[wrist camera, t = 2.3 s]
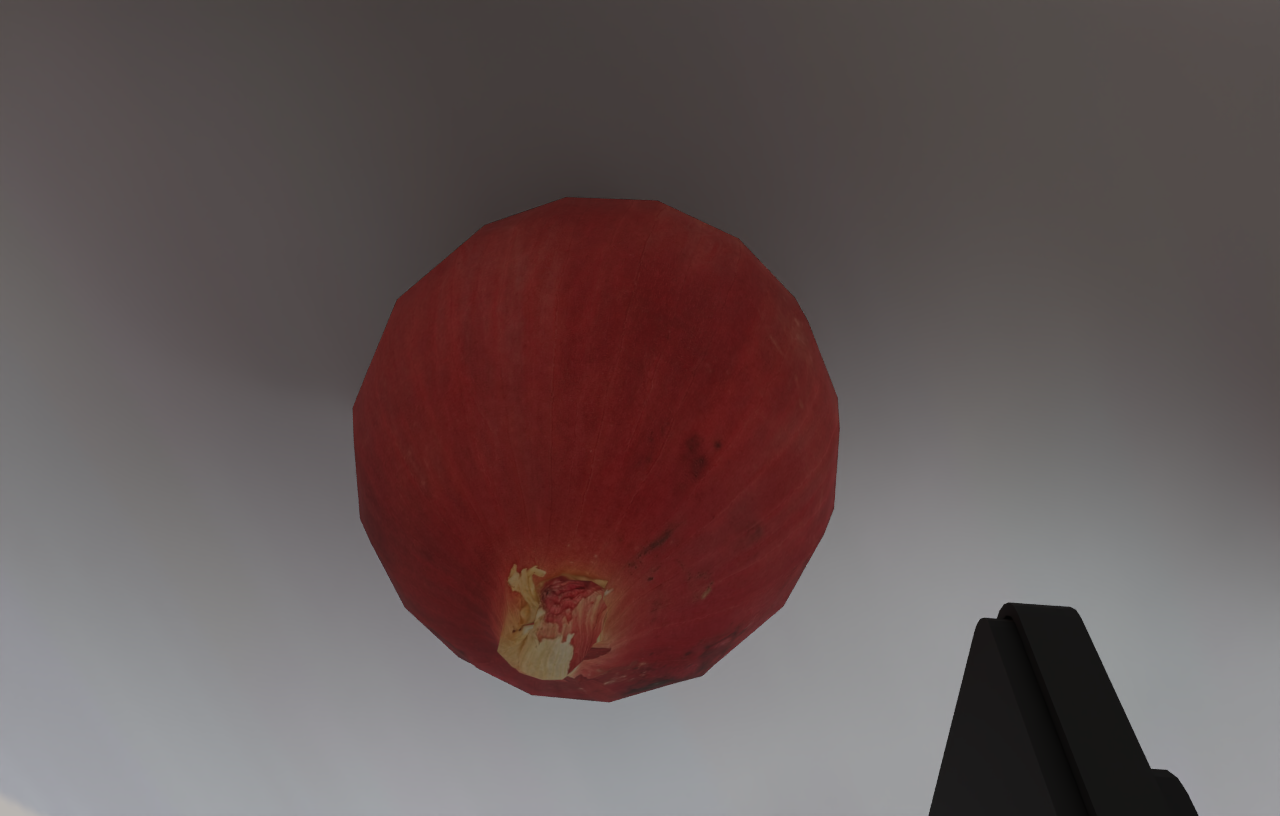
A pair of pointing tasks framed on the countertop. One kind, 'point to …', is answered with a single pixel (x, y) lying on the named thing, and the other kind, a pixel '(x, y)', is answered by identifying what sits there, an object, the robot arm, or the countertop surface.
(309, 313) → the countertop surface
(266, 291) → the countertop surface
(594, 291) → the onion
